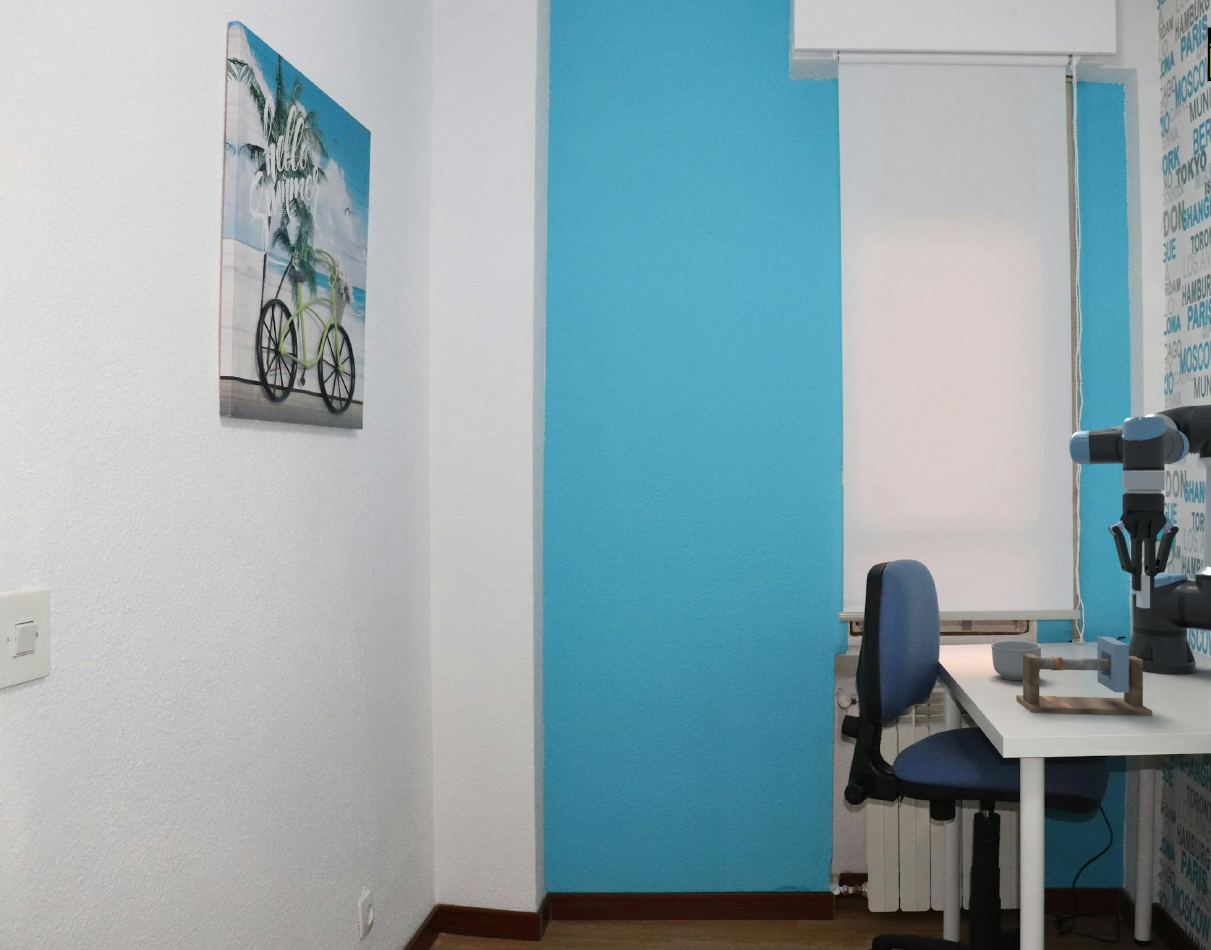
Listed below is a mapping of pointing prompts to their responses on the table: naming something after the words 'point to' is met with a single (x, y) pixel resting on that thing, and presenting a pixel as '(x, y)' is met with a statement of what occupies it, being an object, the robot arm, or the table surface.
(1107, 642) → the ring
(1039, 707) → the wooden rod stand
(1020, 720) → the table surface
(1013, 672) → the teacup
